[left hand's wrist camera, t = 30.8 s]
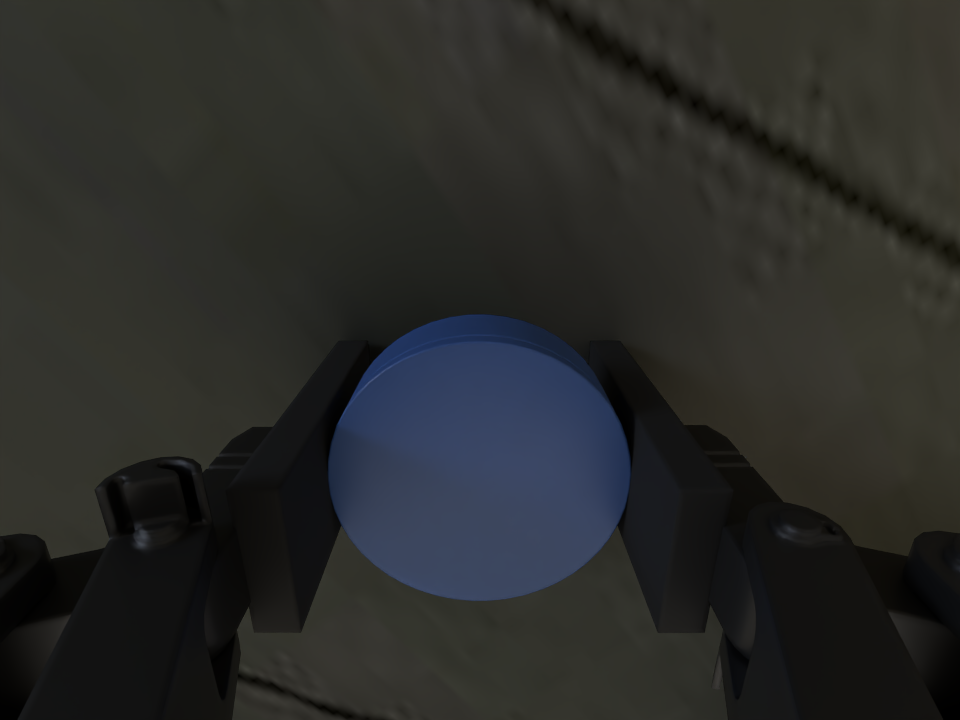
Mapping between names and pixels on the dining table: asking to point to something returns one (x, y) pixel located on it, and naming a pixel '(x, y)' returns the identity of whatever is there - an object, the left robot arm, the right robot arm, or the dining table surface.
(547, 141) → the dining table surface
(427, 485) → the lid
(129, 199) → the dining table surface
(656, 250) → the dining table surface
